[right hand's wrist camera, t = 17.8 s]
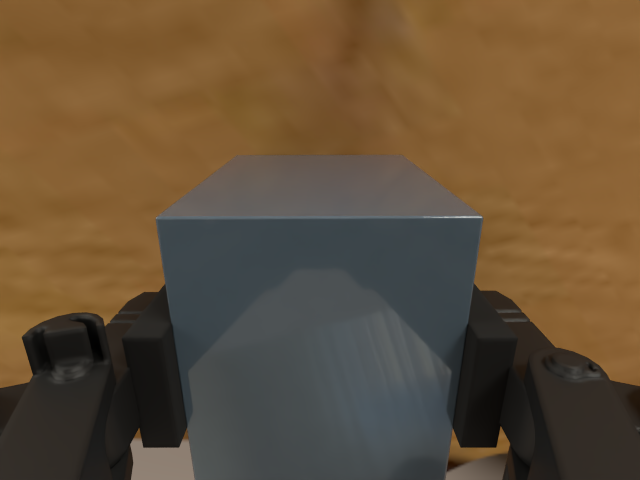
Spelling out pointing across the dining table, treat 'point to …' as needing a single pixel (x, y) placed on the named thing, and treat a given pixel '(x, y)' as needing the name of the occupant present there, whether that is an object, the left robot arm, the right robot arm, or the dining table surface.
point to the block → (319, 317)
